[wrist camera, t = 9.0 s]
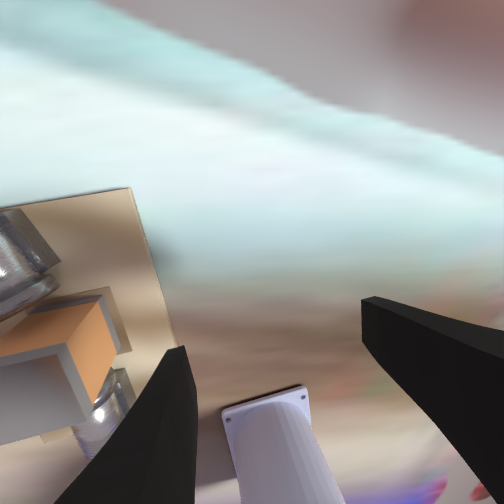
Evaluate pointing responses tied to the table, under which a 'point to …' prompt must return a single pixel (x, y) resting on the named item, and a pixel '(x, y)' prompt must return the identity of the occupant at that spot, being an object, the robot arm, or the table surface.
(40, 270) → the shaft
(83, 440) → the shaft
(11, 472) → the table surface
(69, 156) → the table surface
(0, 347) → the orange rectangular block
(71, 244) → the plate
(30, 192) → the table surface
